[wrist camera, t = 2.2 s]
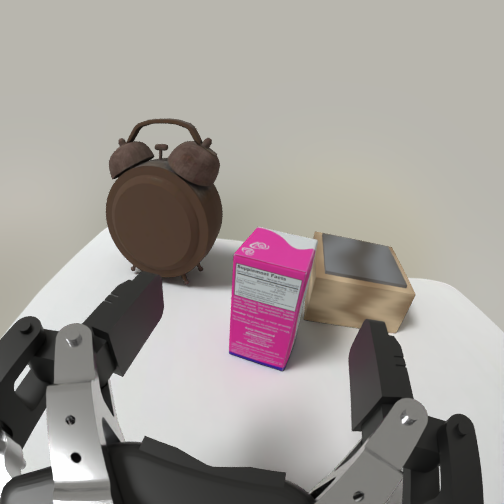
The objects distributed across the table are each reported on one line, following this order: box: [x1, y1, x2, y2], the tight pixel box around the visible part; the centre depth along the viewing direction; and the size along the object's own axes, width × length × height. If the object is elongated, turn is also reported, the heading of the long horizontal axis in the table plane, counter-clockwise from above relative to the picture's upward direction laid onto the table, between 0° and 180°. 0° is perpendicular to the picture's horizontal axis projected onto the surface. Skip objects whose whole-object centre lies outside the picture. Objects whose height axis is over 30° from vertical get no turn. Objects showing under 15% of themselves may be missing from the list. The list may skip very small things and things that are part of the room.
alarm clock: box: [106, 119, 222, 284], centre depth 32 cm, size 15×7×20 cm, turn 79°
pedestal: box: [304, 232, 415, 333], centre depth 34 cm, size 12×12×6 cm
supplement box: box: [229, 227, 318, 371], centre depth 25 cm, size 6×6×12 cm
